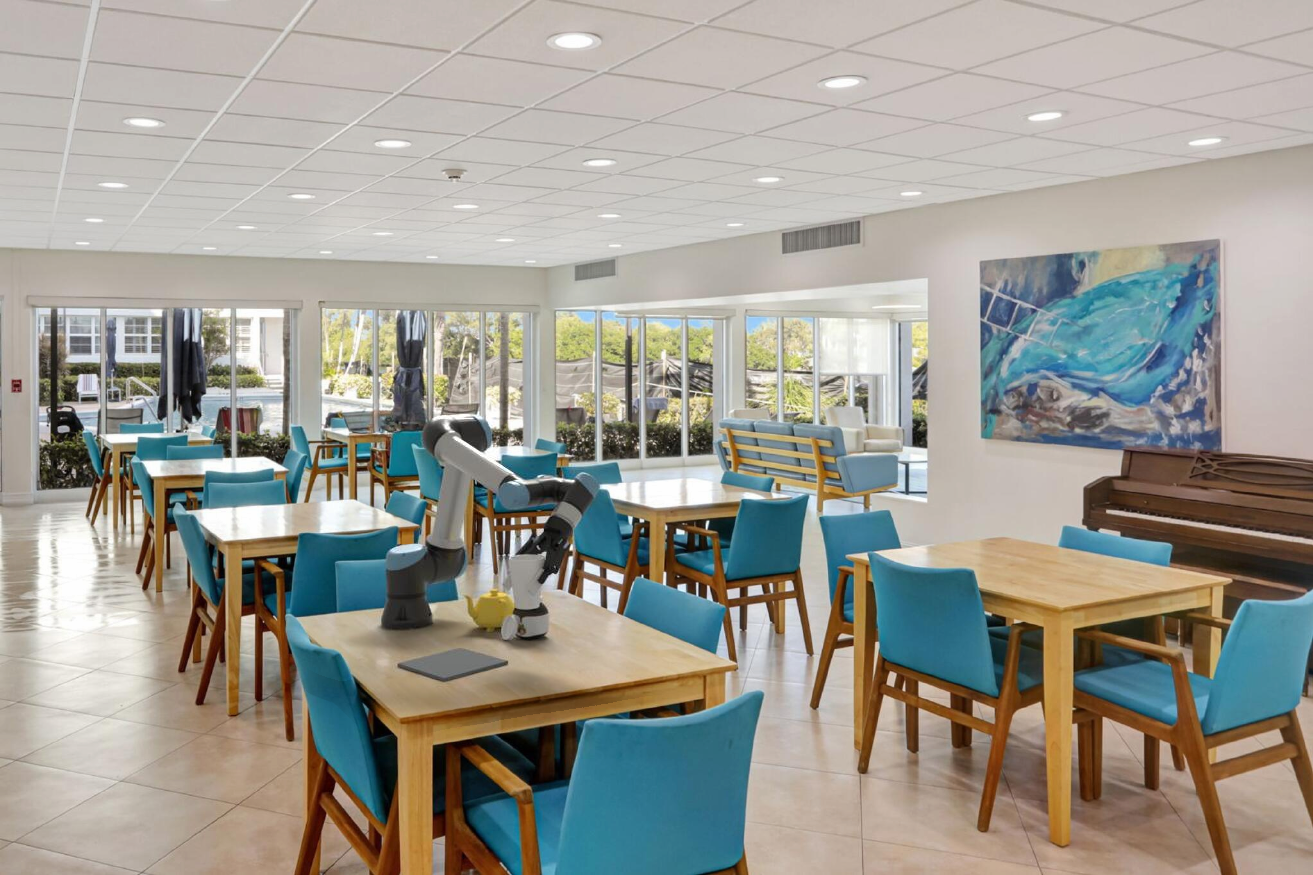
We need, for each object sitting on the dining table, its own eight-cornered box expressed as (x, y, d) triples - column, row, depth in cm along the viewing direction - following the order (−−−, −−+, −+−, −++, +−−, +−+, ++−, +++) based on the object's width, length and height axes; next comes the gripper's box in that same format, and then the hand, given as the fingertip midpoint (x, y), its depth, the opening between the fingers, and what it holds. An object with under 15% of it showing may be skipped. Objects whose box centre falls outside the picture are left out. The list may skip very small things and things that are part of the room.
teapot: (474, 638, 291) (473, 598, 290) (454, 628, 304) (454, 589, 303) (538, 628, 302) (537, 590, 301) (516, 619, 314) (515, 582, 314)
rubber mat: (397, 666, 264) (397, 663, 264) (460, 650, 278) (460, 647, 278) (444, 681, 250) (444, 678, 250) (508, 663, 265) (507, 660, 265)
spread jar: (553, 636, 293) (552, 596, 292) (528, 645, 283) (528, 603, 283) (520, 631, 299) (519, 591, 298) (495, 640, 289) (494, 599, 289)
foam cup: (521, 612, 263) (520, 562, 262) (502, 606, 270) (501, 557, 269) (552, 606, 269) (551, 557, 268) (533, 600, 276) (532, 553, 275)
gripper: (597, 535, 272) (554, 604, 262) (542, 527, 287) (498, 592, 276) (583, 517, 268) (538, 587, 257) (527, 510, 283) (482, 576, 272)
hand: (517, 590), depth 267 cm, fingers closed on foam cup, 9 cm apart
